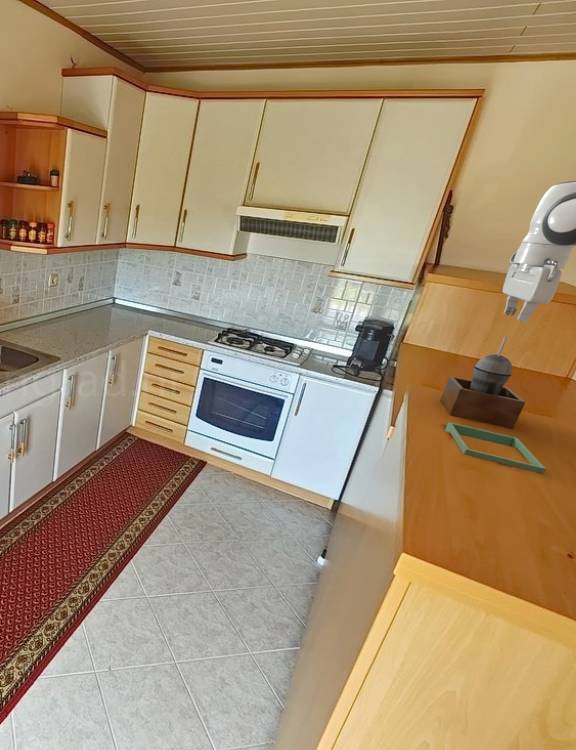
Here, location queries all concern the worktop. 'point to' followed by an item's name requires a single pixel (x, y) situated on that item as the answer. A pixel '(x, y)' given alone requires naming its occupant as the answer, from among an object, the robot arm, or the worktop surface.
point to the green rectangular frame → (494, 438)
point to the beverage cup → (491, 373)
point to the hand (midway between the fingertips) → (514, 317)
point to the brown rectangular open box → (481, 403)
